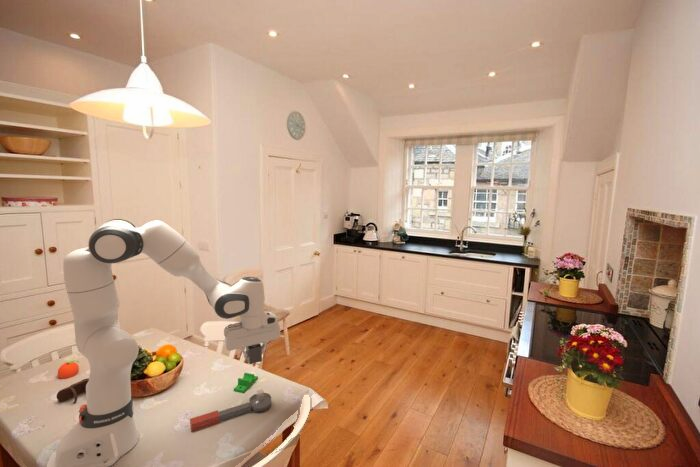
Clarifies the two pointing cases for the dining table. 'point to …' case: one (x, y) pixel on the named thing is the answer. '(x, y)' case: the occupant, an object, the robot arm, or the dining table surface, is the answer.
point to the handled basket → (72, 391)
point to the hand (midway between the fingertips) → (254, 354)
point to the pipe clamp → (245, 382)
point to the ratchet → (233, 411)
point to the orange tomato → (68, 370)
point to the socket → (254, 353)
